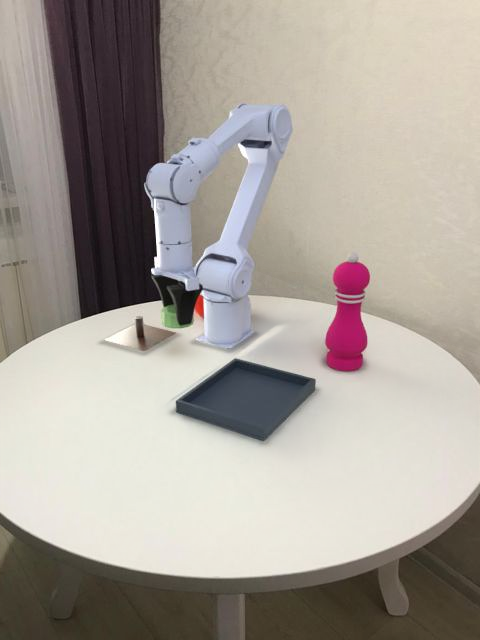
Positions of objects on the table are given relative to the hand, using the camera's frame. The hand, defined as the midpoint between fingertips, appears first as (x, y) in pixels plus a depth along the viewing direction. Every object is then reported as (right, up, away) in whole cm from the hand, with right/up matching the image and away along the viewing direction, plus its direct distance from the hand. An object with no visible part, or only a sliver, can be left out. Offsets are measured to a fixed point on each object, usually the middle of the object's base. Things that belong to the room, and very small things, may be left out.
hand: (178, 318), depth 101 cm
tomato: (+6, +2, +24) cm, 25 cm away
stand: (-8, -3, +13) cm, 16 cm away
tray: (+12, -13, -9) cm, 20 cm away
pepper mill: (+29, -8, +2) cm, 30 cm away
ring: (0, -1, 0) cm, 1 cm away
